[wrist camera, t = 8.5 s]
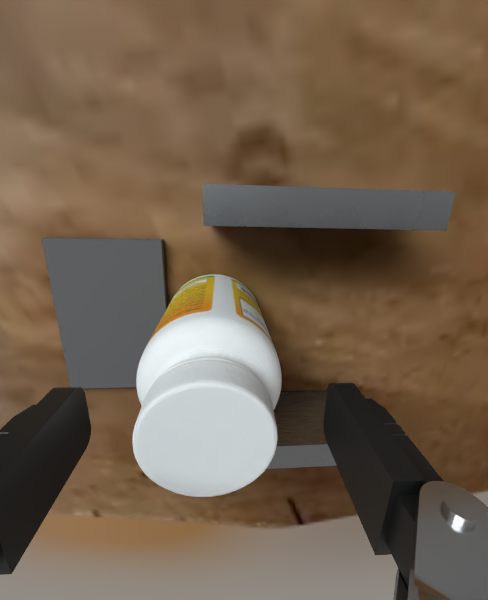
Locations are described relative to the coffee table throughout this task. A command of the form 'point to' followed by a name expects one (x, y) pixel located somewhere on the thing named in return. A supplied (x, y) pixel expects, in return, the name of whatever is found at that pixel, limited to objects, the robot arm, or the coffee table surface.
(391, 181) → the coffee table surface
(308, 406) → the grey bricks
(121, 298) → the gray rectangular block
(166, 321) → the supplement bottle
